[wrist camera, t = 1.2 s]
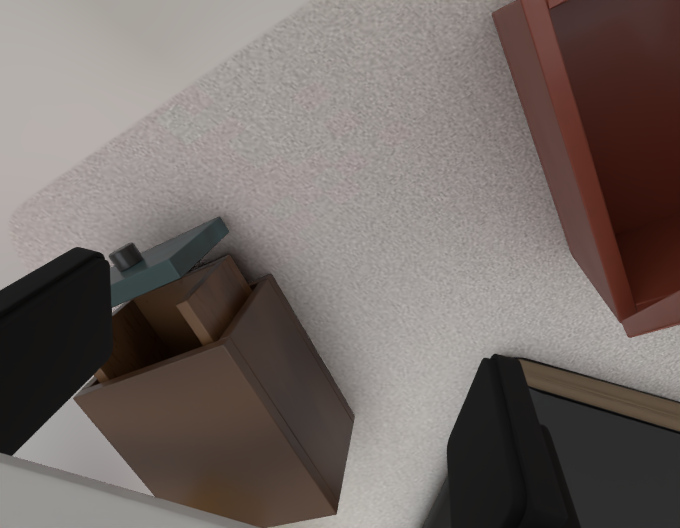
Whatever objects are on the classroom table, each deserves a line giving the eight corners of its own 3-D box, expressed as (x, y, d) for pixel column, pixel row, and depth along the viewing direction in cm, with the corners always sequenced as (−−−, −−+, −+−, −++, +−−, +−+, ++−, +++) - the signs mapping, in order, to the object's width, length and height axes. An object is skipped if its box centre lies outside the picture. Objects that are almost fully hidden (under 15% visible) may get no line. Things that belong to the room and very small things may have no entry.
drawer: (95, 255, 33) (20, 303, 27) (210, 199, 29) (155, 239, 23) (198, 398, 37) (154, 467, 31) (309, 364, 34) (284, 433, 28)
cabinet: (147, 323, 36) (72, 398, 28) (271, 273, 32) (223, 344, 24) (236, 447, 40) (192, 542, 32) (355, 416, 36) (337, 515, 29)
